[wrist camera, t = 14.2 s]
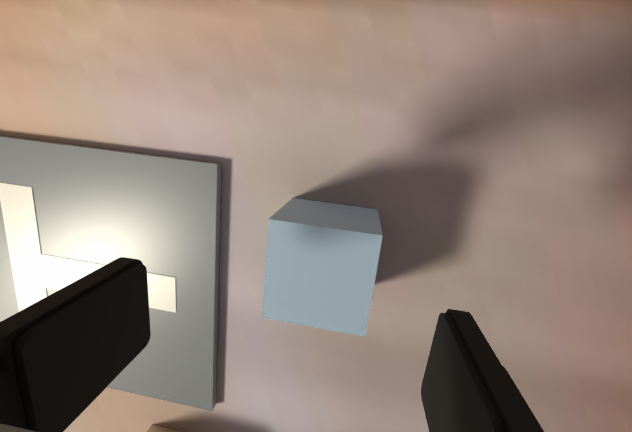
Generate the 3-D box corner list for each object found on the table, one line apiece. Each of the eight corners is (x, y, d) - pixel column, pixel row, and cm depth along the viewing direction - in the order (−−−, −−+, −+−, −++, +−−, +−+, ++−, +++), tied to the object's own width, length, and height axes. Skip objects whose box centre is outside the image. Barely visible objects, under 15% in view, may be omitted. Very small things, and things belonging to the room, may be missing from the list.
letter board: (221, 163, 18) (216, 164, 18) (215, 404, 23) (211, 411, 23) (-35, 131, 21) (-47, 131, 20) (8, 357, 25) (-1, 363, 25)
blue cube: (377, 208, 18) (382, 235, 13) (365, 286, 19) (365, 336, 14) (293, 197, 18) (268, 218, 14) (286, 273, 20) (262, 317, 15)
